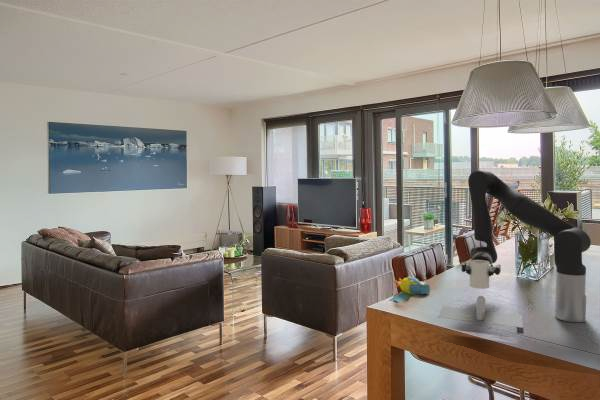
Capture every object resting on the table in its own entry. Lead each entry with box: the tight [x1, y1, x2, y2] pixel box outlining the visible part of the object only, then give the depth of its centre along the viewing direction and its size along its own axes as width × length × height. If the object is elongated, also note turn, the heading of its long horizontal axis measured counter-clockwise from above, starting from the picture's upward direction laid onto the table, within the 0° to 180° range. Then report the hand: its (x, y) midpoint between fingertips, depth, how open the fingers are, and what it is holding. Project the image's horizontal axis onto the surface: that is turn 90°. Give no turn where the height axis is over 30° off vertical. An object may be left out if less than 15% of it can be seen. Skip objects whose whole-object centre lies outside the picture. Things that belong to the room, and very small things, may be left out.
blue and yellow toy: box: [388, 276, 431, 304], centre depth 194 cm, size 28×9×15 cm
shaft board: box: [438, 295, 524, 333], centre depth 161 cm, size 28×14×10 cm, turn 65°
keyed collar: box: [469, 259, 490, 290], centre depth 158 cm, size 6×6×9 cm
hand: (479, 272), depth 156 cm, fingers closed on keyed collar, 6 cm apart
